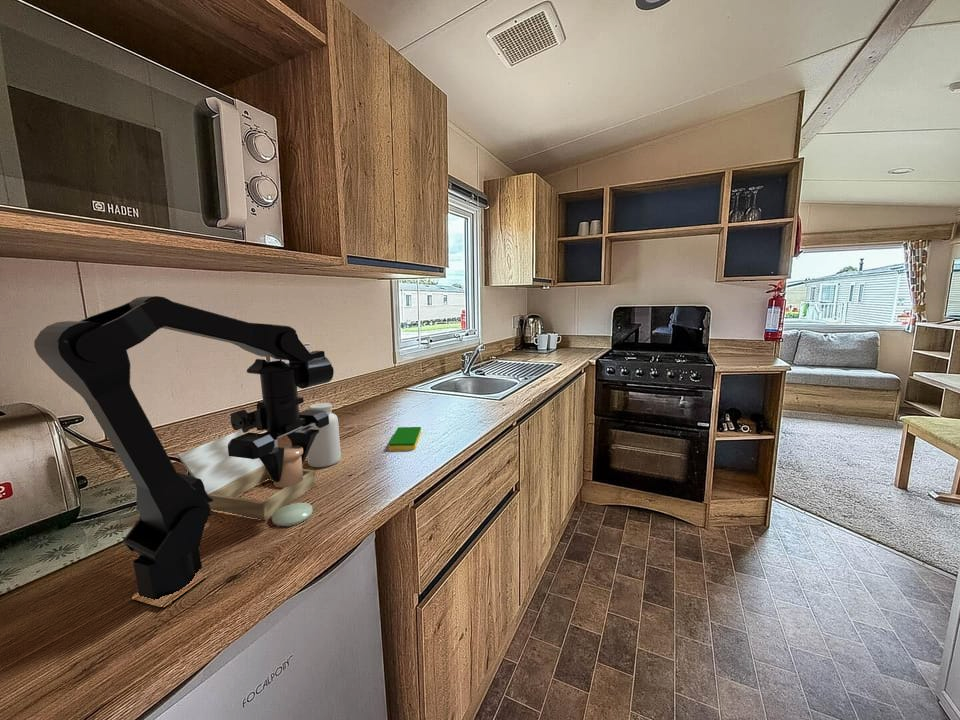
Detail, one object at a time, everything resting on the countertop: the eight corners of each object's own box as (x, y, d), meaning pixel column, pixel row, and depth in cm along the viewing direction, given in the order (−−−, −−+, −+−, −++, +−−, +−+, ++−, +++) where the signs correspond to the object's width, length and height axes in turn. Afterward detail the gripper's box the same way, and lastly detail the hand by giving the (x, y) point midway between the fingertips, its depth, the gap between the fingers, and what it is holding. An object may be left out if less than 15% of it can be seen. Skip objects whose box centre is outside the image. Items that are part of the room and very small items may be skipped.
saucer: (294, 529, 69) (294, 525, 69) (263, 523, 71) (263, 519, 71) (320, 508, 76) (320, 505, 76) (291, 504, 78) (290, 500, 78)
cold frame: (264, 521, 72) (258, 464, 70) (184, 507, 77) (176, 454, 75) (316, 485, 86) (312, 437, 84) (245, 475, 91) (239, 429, 89)
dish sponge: (388, 452, 105) (388, 443, 104) (398, 434, 118) (398, 426, 118) (414, 451, 105) (414, 443, 104) (421, 433, 118) (421, 426, 118)
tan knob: (290, 490, 69) (287, 458, 68) (264, 486, 70) (260, 455, 69) (312, 475, 74) (309, 446, 73) (287, 472, 76) (284, 443, 75)
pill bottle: (340, 453, 103) (336, 399, 101) (341, 465, 96) (337, 407, 93) (308, 458, 100) (303, 403, 98) (307, 470, 93) (301, 411, 91)
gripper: (282, 381, 81) (289, 451, 83) (196, 405, 63) (208, 493, 65) (327, 384, 78) (333, 456, 80) (250, 409, 60) (261, 502, 62)
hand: (288, 474), depth 72 cm, fingers closed on tan knob, 5 cm apart
